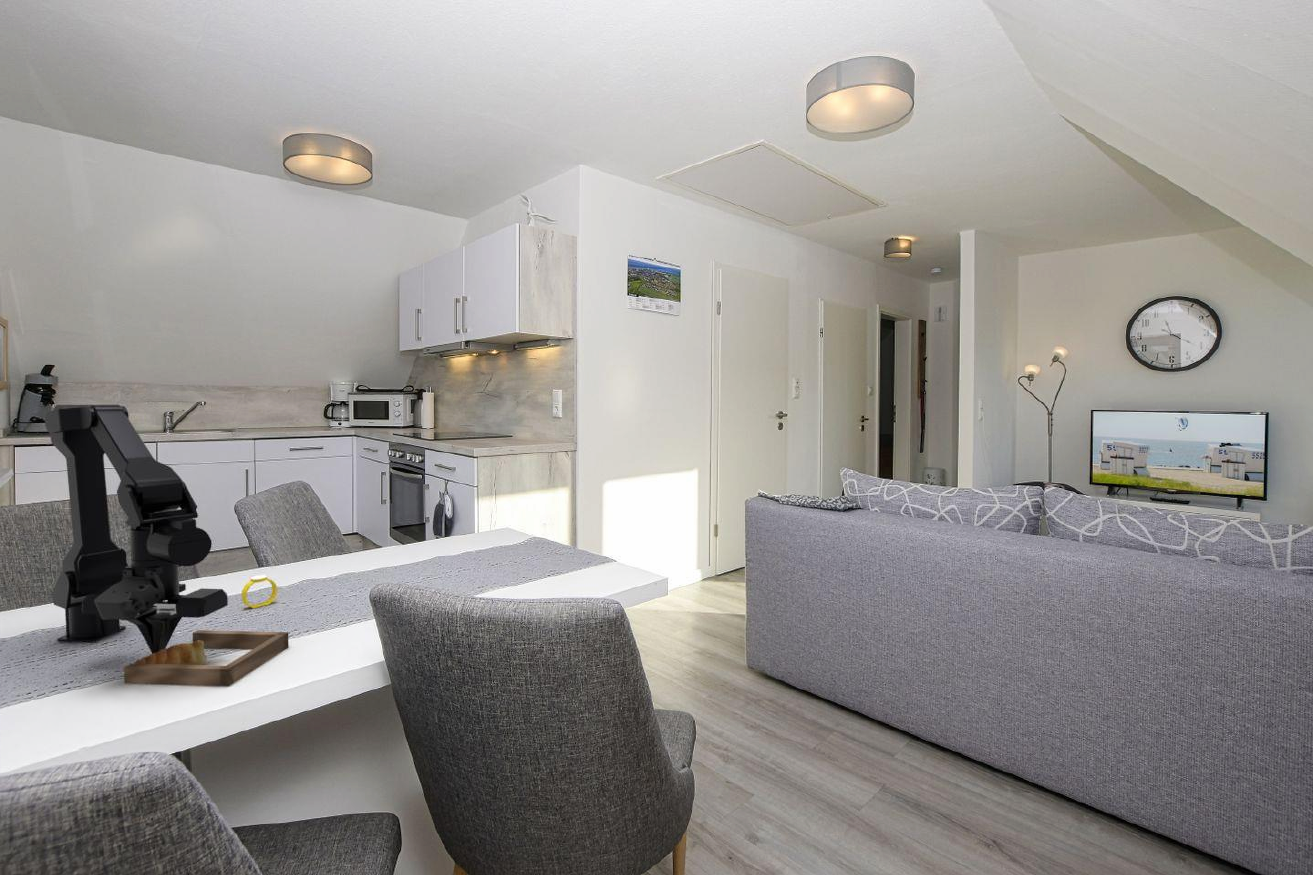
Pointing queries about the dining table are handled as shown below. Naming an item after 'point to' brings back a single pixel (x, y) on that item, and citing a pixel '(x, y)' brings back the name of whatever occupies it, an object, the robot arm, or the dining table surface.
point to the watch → (254, 580)
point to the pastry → (178, 655)
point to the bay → (213, 675)
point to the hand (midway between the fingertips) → (158, 655)
